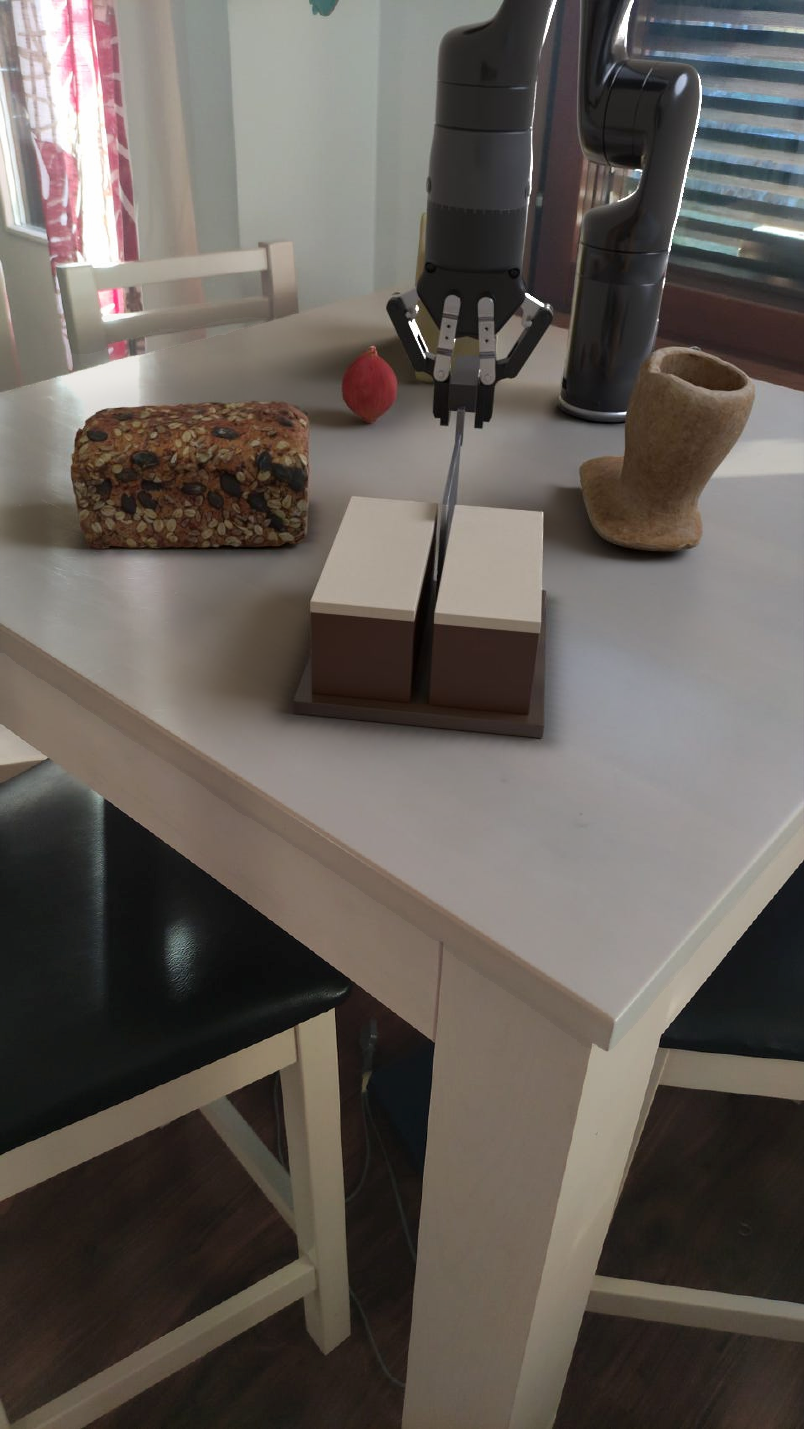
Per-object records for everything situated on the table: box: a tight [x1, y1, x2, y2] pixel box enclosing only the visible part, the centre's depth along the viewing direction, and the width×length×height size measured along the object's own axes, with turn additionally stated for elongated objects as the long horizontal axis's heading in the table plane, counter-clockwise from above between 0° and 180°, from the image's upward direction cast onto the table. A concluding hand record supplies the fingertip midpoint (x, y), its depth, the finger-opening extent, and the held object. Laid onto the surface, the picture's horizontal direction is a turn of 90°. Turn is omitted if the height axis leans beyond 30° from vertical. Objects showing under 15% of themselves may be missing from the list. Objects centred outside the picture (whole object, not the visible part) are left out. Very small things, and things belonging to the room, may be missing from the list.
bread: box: [70, 400, 311, 550], centre depth 87 cm, size 19×11×10 cm, turn 94°
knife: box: [435, 355, 480, 601], centre depth 84 cm, size 23×2×11 cm, turn 173°
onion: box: [341, 345, 399, 424], centre depth 109 cm, size 6×6×8 cm
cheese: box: [414, 211, 499, 383], centre depth 128 cm, size 22×10×15 cm, turn 8°
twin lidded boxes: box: [292, 495, 547, 739], centre depth 72 cm, size 18×16×8 cm
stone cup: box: [578, 346, 756, 552], centre depth 89 cm, size 15×12×15 cm
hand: (461, 423), depth 88 cm, fingers closed on knife, 2 cm apart
